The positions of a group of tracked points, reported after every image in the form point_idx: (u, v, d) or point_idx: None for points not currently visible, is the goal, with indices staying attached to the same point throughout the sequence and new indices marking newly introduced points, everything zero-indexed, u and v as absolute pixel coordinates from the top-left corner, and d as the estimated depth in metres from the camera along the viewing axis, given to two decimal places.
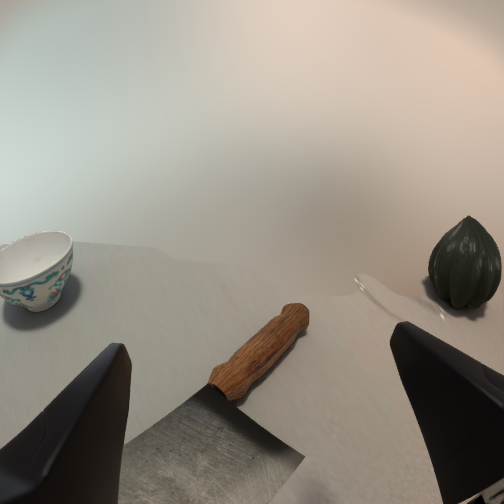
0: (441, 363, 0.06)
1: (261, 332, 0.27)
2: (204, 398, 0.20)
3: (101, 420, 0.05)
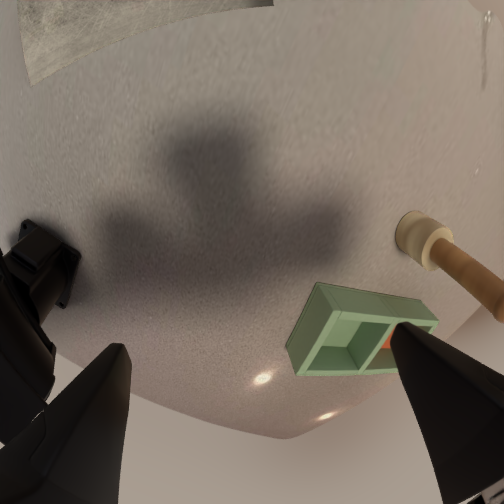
0: (441, 363, 0.06)
1: None
2: None
3: (101, 420, 0.05)
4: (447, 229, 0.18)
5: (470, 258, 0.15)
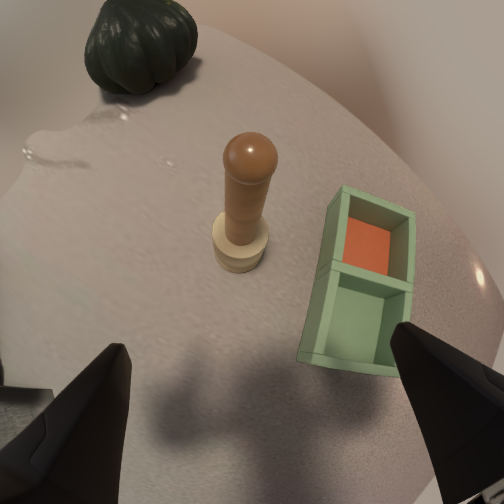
0: (441, 363, 0.06)
1: None
2: None
3: (101, 420, 0.05)
4: (215, 224, 0.19)
5: (225, 208, 0.16)
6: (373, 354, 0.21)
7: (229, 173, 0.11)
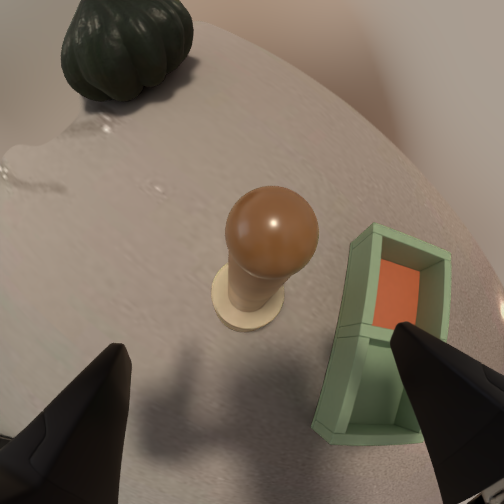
0: (441, 363, 0.06)
1: None
2: None
3: (101, 420, 0.05)
4: (214, 283, 0.15)
5: (228, 279, 0.11)
6: (394, 413, 0.16)
7: (237, 262, 0.07)
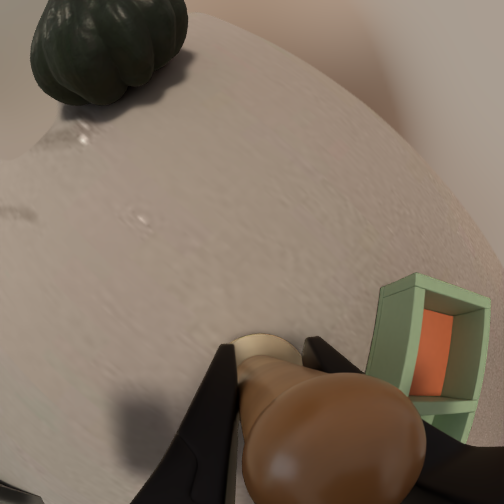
0: None
1: None
2: None
3: (236, 428, 0.05)
4: None
5: None
6: None
7: None
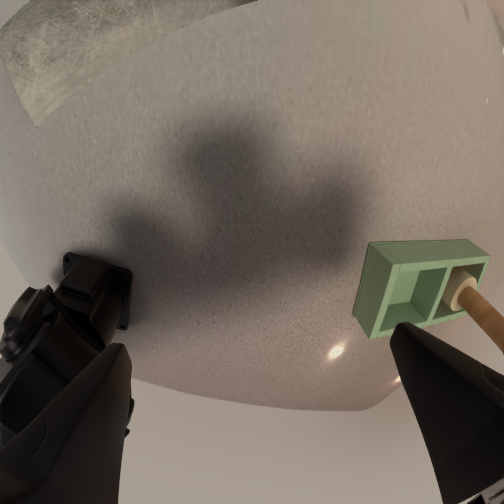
0: (441, 363, 0.06)
1: None
2: None
3: (101, 420, 0.05)
4: (473, 278, 0.20)
5: (490, 306, 0.17)
6: None
7: None
